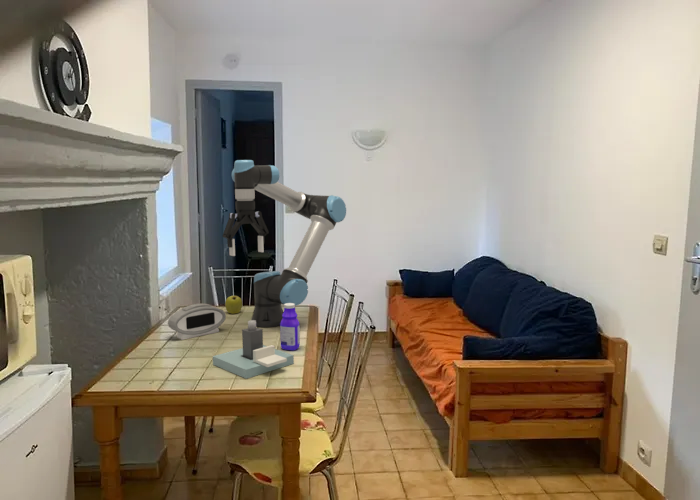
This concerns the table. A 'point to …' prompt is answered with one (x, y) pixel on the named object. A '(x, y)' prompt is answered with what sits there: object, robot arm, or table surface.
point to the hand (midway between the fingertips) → (246, 253)
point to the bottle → (289, 328)
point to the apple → (233, 304)
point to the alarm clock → (196, 320)
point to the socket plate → (247, 363)
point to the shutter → (267, 356)
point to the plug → (251, 339)
